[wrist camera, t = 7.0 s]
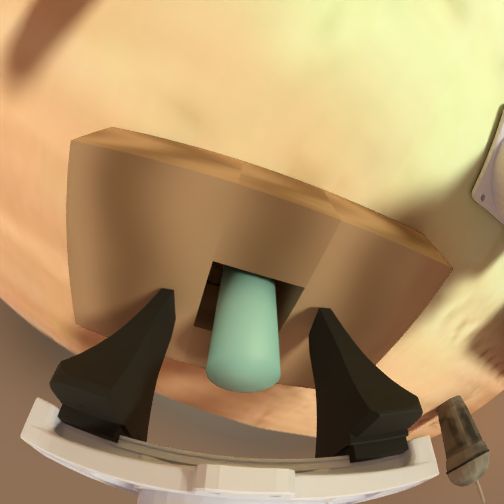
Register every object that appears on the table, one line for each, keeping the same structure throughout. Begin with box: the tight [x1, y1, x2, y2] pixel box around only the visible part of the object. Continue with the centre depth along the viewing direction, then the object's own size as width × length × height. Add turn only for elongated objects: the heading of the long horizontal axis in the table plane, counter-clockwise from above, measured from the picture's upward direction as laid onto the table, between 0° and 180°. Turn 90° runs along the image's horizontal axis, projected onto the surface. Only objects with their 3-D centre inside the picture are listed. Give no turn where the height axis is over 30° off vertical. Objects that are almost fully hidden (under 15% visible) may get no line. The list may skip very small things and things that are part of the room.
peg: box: [206, 265, 280, 393], centre depth 14 cm, size 3×3×8 cm
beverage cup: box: [437, 396, 490, 504], centre depth 22 cm, size 7×7×20 cm
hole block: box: [66, 127, 453, 389], centre depth 16 cm, size 20×12×4 cm, turn 71°
